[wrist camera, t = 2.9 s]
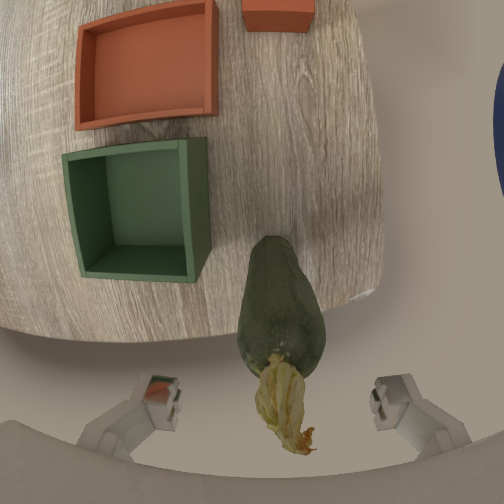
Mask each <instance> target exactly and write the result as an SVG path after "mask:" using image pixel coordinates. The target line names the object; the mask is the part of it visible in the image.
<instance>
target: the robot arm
mask: <svg viewBox="0 0 504 504" xmlns="http://www.w3.org/2000/svg"><path fill="white" fill-rule="evenodd" d="M178 386H179V381H178V378H175V377H167V376H160V375H153V374H146V373H142V374H141V376H140V377H139V379H138V382H137V384H136V386H135V388H134V390H133V393H132V395H131V397H130V399H129V400H125V401H123V402H122V403H120V404H118V405H117V406H115V407H114V408H112V409H111V410H109V411H107V412H106V413H104V414H103V415H101V416H99V417H98V418H96V419H95V420H93V421H91V422H90V423H88V424H86V427H85V428H84V430H83V432H82V434H81V436H80V439H79V441H78V442H77V444H76V445H73V444H70V443H67V442H64V441H62V440H59V439H56V438H54V437H51V436H49V435H46V434H44V433H42V432H40V431H37V430H35V429H33V428H30V427H28V426H26V425H24V424H22V423H20V422H18V421H15V420H8V421H5V422H2V423H0V504H504V430H503V431H500V432H498V433H496V434H493V435H491V436H488V437H486V438H484V439H481V440H479V441H476V442H473V443H472V441H471V439H470V437H469V435H468V432H467V430H466V428H465V426H464V424H463V423H462V422H460V421H459V420H457V419H456V418H454V417H453V416H451V415H450V414H448V413H447V412H445V411H444V410H442V409H441V408H439V407H438V406H436V405H434V404H433V403H431V402H430V401H428V400H427V399H423V398H422V396H421V393H420V391H419V389H418V387H417V385H416V383H415V381H414V379H413V377H412V375H411V374H410V373H409V374H402V375H395V376H386V377H378V378H377V379H376V381H375V387H376V388H375V389H374V390H373V391H372V392H371V395H370V407H371V411H372V412H373V413H374V414H376V415H375V418H374V421H375V425H376V428H377V431H381V430H388V429H394V428H396V429H395V430H396V431H397V432H398V433H400V434H401V435H402V436H403V437H404V438H405V439H406V440H407V441H408V442H409V443H410V444H411V445H412V446H413V447H414V448H415V449H416V450H417V451H419V453H420V454H419V455H418V457H417V458H416V459H415V460H414V461H412V462H408V463H403V464H399V465H394V466H389V467H384V468H379V469H373V470H367V471H362V472H355V473H347V474H339V475H328V476H316V477H301V478H300V477H299V478H243V477H242V478H241V477H226V476H214V475H205V474H196V473H188V472H181V471H175V470H169V469H163V468H158V467H153V466H148V465H143V464H139V463H135V462H134V460H133V459H132V457H131V456H130V454H129V453H131V452H132V451H133V450H134V449H135V448H136V447H137V446H138V445H140V444H141V443H142V442H143V441H144V440H145V439H146V438H147V437H148V436H150V435H151V434H152V433H153V432H154V431H155V429H158V430H165V431H173V432H175V428H176V425H177V422H178V418H177V414H178V413H179V412H180V411H181V407H182V393H181V390H179V389H178Z"/></svg>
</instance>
